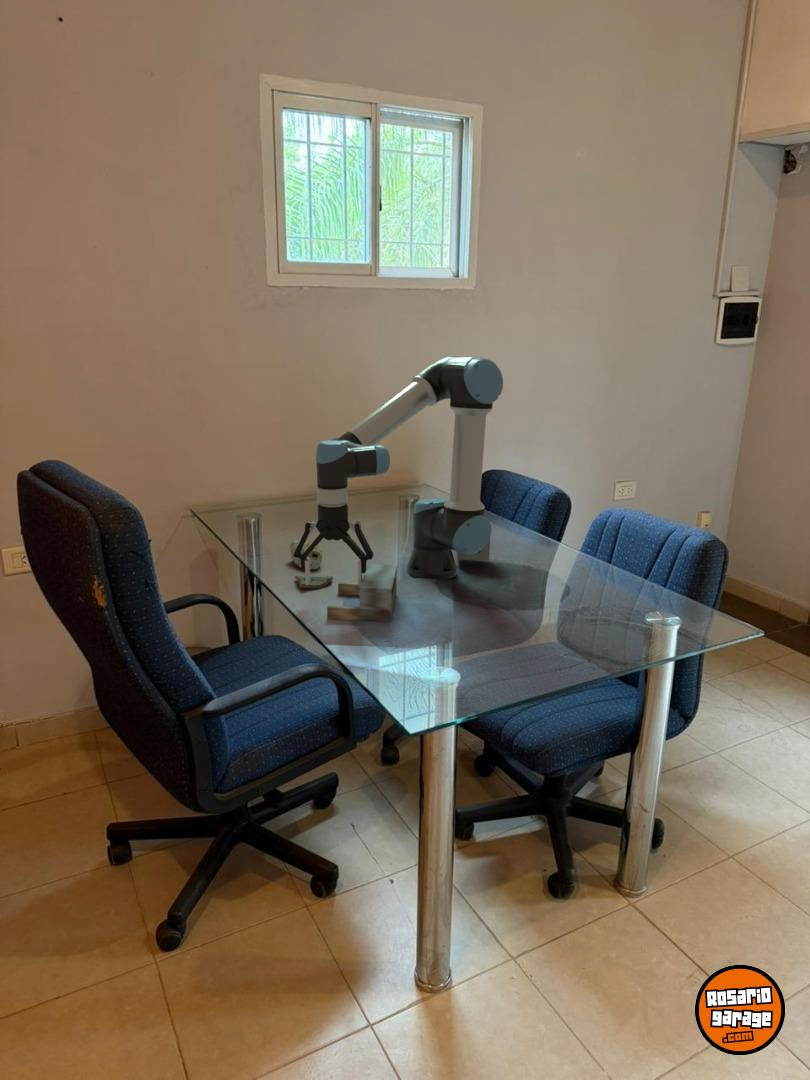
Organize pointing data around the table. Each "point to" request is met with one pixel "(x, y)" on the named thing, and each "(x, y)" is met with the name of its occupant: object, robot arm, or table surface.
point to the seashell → (314, 555)
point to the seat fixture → (369, 595)
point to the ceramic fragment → (314, 581)
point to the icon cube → (476, 554)
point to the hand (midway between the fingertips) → (334, 584)
